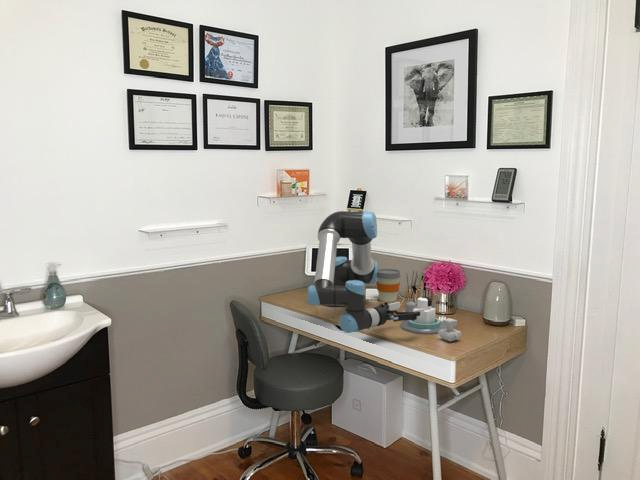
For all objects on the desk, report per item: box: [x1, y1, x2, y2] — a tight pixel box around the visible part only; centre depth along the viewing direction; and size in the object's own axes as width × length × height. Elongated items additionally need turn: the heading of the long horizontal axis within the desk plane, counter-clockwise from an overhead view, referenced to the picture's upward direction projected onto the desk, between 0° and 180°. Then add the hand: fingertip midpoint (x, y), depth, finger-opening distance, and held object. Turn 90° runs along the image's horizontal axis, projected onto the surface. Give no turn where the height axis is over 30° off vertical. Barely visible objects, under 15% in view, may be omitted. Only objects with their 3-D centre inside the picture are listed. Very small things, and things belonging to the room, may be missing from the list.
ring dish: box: [400, 317, 447, 335], centre depth 232 cm, size 20×20×3 cm
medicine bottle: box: [413, 296, 437, 324], centre depth 231 cm, size 7×7×12 cm
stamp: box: [437, 317, 463, 342], centre depth 215 cm, size 9×7×8 cm
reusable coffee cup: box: [375, 268, 401, 303], centre depth 279 cm, size 13×13×15 cm
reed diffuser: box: [401, 270, 419, 312], centre depth 252 cm, size 10×7×20 cm
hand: (411, 308), depth 226 cm, fingers open, 13 cm apart
